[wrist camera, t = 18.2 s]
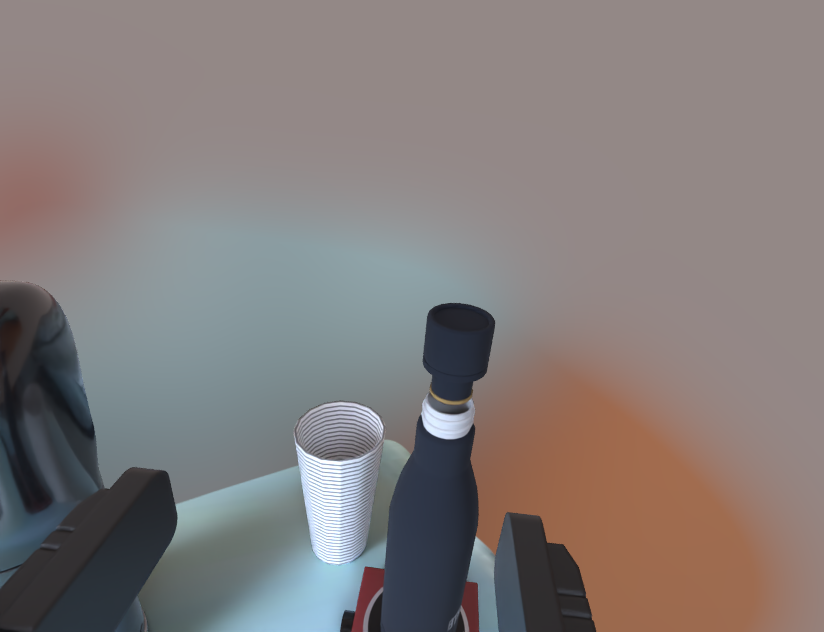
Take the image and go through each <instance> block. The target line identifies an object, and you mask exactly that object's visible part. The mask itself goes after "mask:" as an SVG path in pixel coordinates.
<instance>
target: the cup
mask: <svg viewBox="0 0 824 632" xmlns="http://www.w3.org/2000/svg"><path fill="white" fill-rule="evenodd" d="M385 431H386V426H385V424H384V422H383V419H382V417H381V416H380V415H379V414H378V413H376V412H375V411H374V410H373V409H372V408H370V407H368V406H365V405H362V404H360V403H357V402H349V401H335V402H328V403H324V404H321V405H318V406H316V407H314V408H311V409H309V410H308V411H307V412H306V413H305V414H304V415H303V416H301V417H300V418H299V419H298V421H297V424H296V426H295V428H294V431H293V432H294V438H295V444H296V451H297V456H298V463H299V469H300V476H301V482H302V488H303V494H304V501H305V507H306V513H307V520H308V526H309V532H310V538H311V544H312V550H313V552H314V553H315V555H316V556H317V557H318V559H320V560H321V561H323V562H325V563H327V564H330V565H343V564H347V563H350V562H352V561H353V560H355V559H356V558H357V557H359V556H360V555H361V553H362V552H363V550H364V549H365V547H366V543H367V538H368V532H369V526H370V520H371V514H372V508H373V502H374V497H375V491H376V485H377V479H378V473H379V467H380V461H381V456H382V450H383V444H384V437H385Z"/></svg>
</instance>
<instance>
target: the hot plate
mask: <svg viewBox="0 0 824 632" xmlns="http://www.w3.org/2000/svg"><path fill="white" fill-rule="evenodd" d="M384 572H385V569H379V568H372V567H365V568H364V573H363V578H362V583H361V588H360V592H359V597H358V602H357V607H356V611H355V612H354V611H348V610H345V611H344V614H343V618H342V623H341V629H340V632H381V626H380V622H381V610H382V597H383V584H384ZM456 632H479V612H478V584H477V583H474V582H467V581H466V585H465V589H464V594H463V599H462V604H461V609H460V614H459V618H458V623H457V628H456Z"/></svg>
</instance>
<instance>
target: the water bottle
mask: <svg viewBox="0 0 824 632" xmlns="http://www.w3.org/2000/svg"><path fill="white" fill-rule="evenodd" d="M494 328H495V320H494V318H493V317H492V315H491V314H489V313H488V312H487V311H485V310H483V309H481V308H478V307H475V306H472V305H468V304H461V303H447V304H441V305H438V306H435V307H434V308H432V309H431V310H430V311H429V313H428V316H427V324H426V334H425V345H424V353H423V354H424V355H423V365H424V367H425V368H426V370H427V371H428V372H429V373H430V374H432V382H431V385H430V391H429V392H428V393H427V395H426V398H425V399H424V401H423V404H422V406H423V410H422V413H421V415H420V417H419V419H418V422H417V429H416V438H415V447H414V451H413V453H412V454H411V456H410V458H409V459H408V461H407V463H406V464H405V466H404V468H403V470H402V471H401V474H400V476H399V479H398V482H397V484H396V488H395V491H394V494H393V497H392V501H391V504H390V509H389V521H388V534H387V547H386V559H385V572H384V584H383V597H382V610H381V622H380V626H381V632H456V628H457V623H458V618H459V614H460V609H461V604H462V599H463V594H464V589H465V585H466V580H467V575H468V570H469V565H470V560H471V556H472V551H473V546H474V541H475V536H476V531H477V526H478V515H479V514H478V493H477V485H476V481H475V477H474V473H473V469H472V465H471V461H470V457H471V451H472V446H473V440H474V434H475V426H474V424H473V419H474V415H475V407H474V402H473V399H472V393H473V390H472V386H473V381H476V380H478V379H480V378H482V377H483V376H484V375H485V374H486V372H487V367H488V361H489V356H490V351H491V345H492V339H493V334H494Z"/></svg>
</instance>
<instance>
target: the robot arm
mask: <svg viewBox="0 0 824 632" xmlns="http://www.w3.org/2000/svg"><path fill="white" fill-rule="evenodd" d="M176 525H177V511H176V506H175V502H174V498H173V493H172V488H171V483H170V479H169V475H168V473H167V472H166V471H162V470H154V469H146V468H137V467H132V468H130V469H128V470H127V471H125V472H124V473H123V474H122V476H121V477H120V478H119V479H118V480H117V481H116V482H115V483H114V485H113V486H112V487H111V488H110V489H105V488H104V485H103V482H102V478H101V475H100V471H99V468H98V458H97V447H96V436H95V431H94V425H93V422H92V418H91V414H90V410H89V406H88V401H87V397H86V393H85V388H84V384H83V379H82V374H81V369H80V364H79V359H78V354H77V350H76V345H75V341H74V337H73V333H72V330H71V328H70V325H69V322H68V319H67V317H66V315H65V314H64V312H63V310H62V308H61V306H60V305H59V303H58V302H57V301H56V300H55V298H54V297H53V296H52V295H51V294H50V293H49V292H47V291H46V290H45V289H43V288H42V287H40V286H38V285H35V284H32V283H29V282H22V281H1V280H0V632H148V623H147V619H146V616H145V613H144V611H143V609H142V607H141V605H140V601H139V598H138V593H139V592H140V590H141V588H142V587H143V585H144V584H145V582H146V580H147V579H148V577H149V576H150V574H151V572H152V571H153V569H154V568H155V566H156V564H157V563H158V561H159V560H160V558H161V557H162V555H163V553H164V552H165V550H166V549H167V547H168V545H169V544H170V542H171V540H172V538H173V535H174V533H175V530H176ZM494 583H495V595H496V606H497V617H498V628H499V632H596V628H595V625H594V621H593V620H592V614H591V610H590V606H589V603H588V599H587V598H586V592H585V588H584V585H583V581H582V577H581V573H580V570H579V567H578V565H577V564H576V562H575V561H574V560H573V558H572V557H571V555H570V554H569V552H568V551H567V549H566V548H565V546H564V545H563V544H554V543H547V541H546V536H545V532H544V528H543V523H542V520H541V518H540V516H535V515H527V514H518V513H509V512H507V513H506V515H505V518H504V523H503V527H502V531H501V535H500V539H499V543H498V548H497V552H496V557H495V566H494Z"/></svg>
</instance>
